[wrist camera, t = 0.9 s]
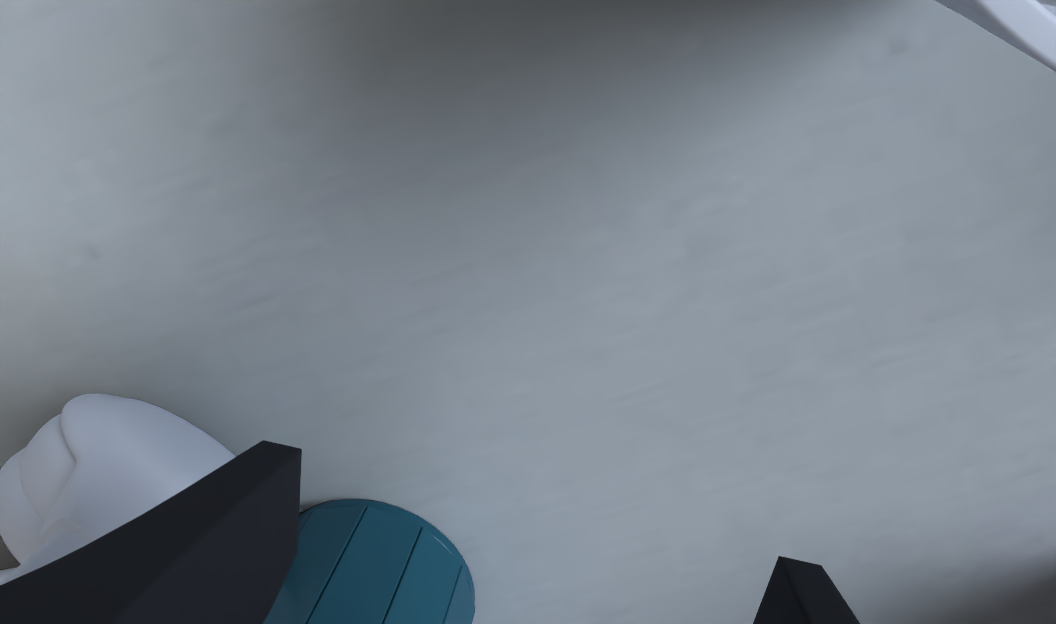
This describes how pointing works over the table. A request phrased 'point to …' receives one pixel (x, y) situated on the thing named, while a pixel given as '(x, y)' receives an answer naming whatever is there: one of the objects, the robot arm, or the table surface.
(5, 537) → the headphones
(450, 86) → the table surface
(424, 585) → the pot
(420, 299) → the table surface
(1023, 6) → the cup
